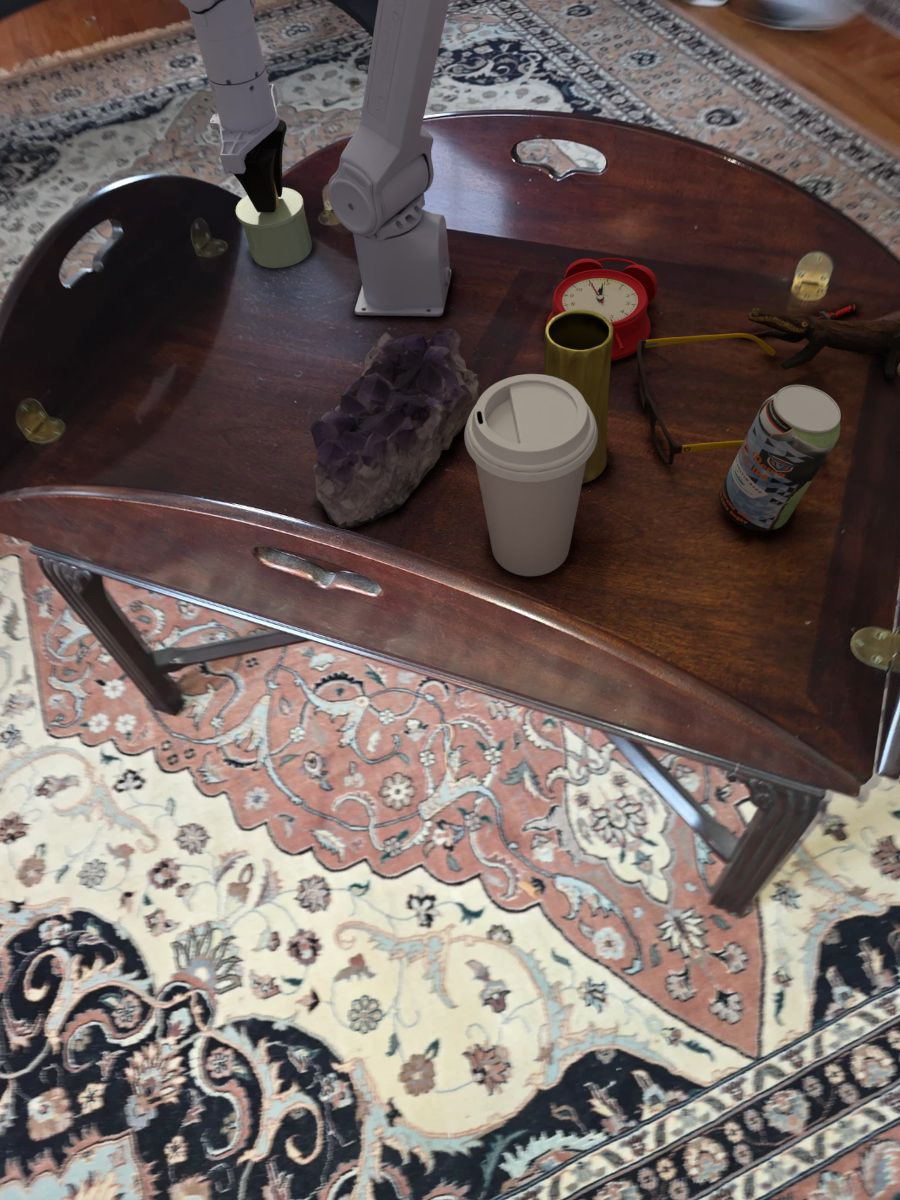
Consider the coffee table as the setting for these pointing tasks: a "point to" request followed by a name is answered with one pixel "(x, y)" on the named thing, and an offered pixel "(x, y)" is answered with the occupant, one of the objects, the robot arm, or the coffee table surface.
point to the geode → (391, 426)
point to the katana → (821, 315)
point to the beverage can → (780, 457)
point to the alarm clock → (610, 299)
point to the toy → (831, 335)
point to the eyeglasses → (651, 406)
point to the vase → (583, 368)
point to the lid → (285, 212)
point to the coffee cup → (530, 467)
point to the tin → (280, 243)
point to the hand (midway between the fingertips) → (269, 202)
